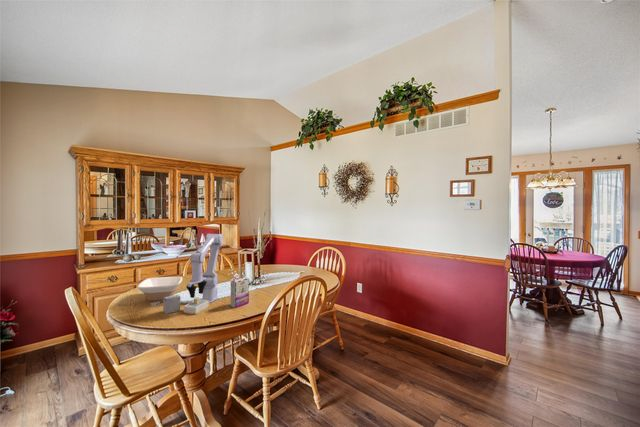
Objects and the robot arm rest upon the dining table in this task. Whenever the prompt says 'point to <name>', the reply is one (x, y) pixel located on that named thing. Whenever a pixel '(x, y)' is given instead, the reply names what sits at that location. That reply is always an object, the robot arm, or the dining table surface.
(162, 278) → the bowl
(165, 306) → the medicine box
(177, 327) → the dining table surface
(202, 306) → the box
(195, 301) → the lid
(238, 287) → the candy bar box
